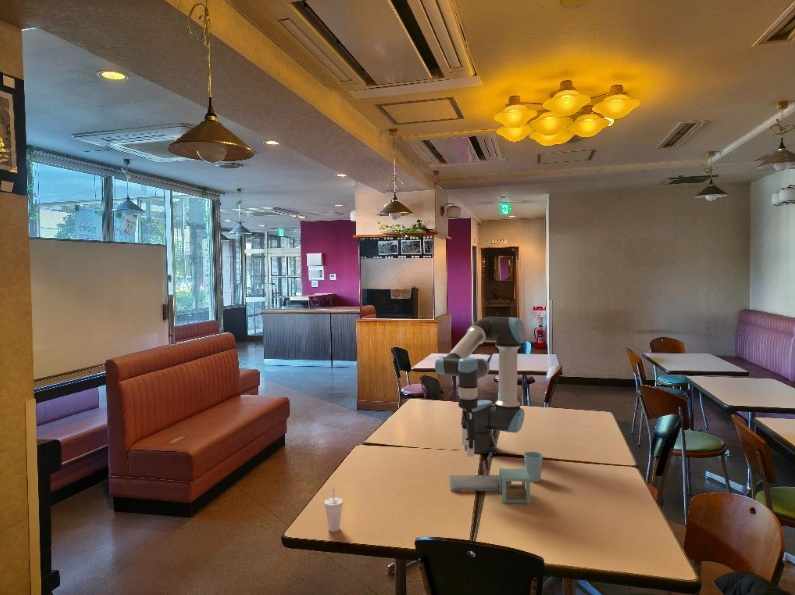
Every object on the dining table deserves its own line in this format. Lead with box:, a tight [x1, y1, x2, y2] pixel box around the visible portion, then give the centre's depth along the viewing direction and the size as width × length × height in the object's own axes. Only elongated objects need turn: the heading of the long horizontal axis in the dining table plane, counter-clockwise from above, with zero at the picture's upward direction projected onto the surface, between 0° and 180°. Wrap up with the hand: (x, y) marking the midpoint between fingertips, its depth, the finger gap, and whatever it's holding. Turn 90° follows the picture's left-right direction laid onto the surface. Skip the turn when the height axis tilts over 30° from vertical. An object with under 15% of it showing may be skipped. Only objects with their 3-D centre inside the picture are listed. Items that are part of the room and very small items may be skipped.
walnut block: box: [506, 483, 526, 499], centre depth 200 cm, size 5×8×4 cm, turn 87°
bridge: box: [498, 467, 531, 505], centre depth 199 cm, size 10×10×10 cm
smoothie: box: [323, 487, 344, 533], centre depth 177 cm, size 6×6×14 cm
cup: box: [523, 451, 544, 483], centre depth 217 cm, size 8×8×10 cm
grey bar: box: [449, 474, 513, 492], centre depth 208 cm, size 4×24×5 cm, turn 89°
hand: (467, 450), depth 207 cm, fingers open, 13 cm apart
